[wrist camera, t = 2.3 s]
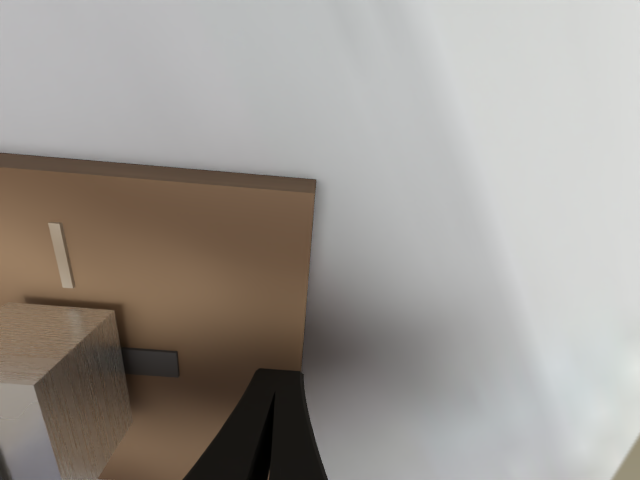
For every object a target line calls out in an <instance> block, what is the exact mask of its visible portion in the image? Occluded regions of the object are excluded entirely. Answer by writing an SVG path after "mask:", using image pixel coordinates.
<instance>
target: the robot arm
mask: <svg viewBox="0 0 640 480" xmlns="http://www.w3.org/2000/svg"><path fill="white" fill-rule="evenodd" d="M269 471H270V473H269ZM268 476H269V480H328V478H327V476H326V472H325V469H324V466H323V463H322V460H321V457H320V454H319V451H318V448H317V444H316V441H315V437H314V433H313V429H312V426H311V422H310V418H309V413H308V408H307V403H306V398H305V391H304V374H303V373H302V372H301V371H292V370H278V369H264V368H259V369H258V370H256V371H255V373H254V375H253V377H252V379H251V381H250V383H249V385H248V387H247V388H246V390H245V392H244V394H243V395H242V397H241V399H240V400H239V402H238V403H237V405H236V407H235V408H234V410H233V411H232V413H231V414H230V416H229V417H228V419H227V420H226V422H225V423H224V425H223V426H222V428H221V429H220V431H219V432H218V434H217V435H216V436H215V438H214V439H213V440H212V442H211V443H210V444H209V446H208V447H207V448H206V450H205V451H204V453H203V454H202V455H201V457H200V458H199V459H198V461H197V462H196V463H195V465H194V466H193V467H192V468H191V470H190V471H189V472H188V473H187V475H186V476H185V477H184V478H183V480H268Z"/></svg>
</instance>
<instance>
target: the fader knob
mask: <svg viewBox="0 0 640 480" xmlns="http://www.w3.org/2000/svg"><path fill="white" fill-rule="evenodd" d="M132 422H133V419H132V413H131V407H130V401H129V395H128V389H127V383H126V377H125V371H124V365H123V359H122V353H121V347H120V341H119V335H118V329H117V323H116V317H115V311H114V310H105V309H91V308H78V307H65V306H51V305H38V304H25V303H11V302H8V303H7V304H5V305H3V306H2V307H0V480H97V479H98V477H99V475H100V474H101V472H102V471H103V469H104V467H105V466H106V464H107V463H108V461H109V459H110V458H111V456H112V455H113V453H114V451H115V450H116V448H117V447H118V445H119V443H120V442H121V440H122V439H123V437H124V435H125V434H126V432H127V431H128V429H129V427H130V426H131V424H132Z"/></svg>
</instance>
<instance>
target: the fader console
mask: <svg viewBox="0 0 640 480" xmlns="http://www.w3.org/2000/svg"><path fill="white" fill-rule="evenodd" d="M315 188H316V180H314V179H303V178H291V177H279V176H267V175H255V174H244V173H232V172H220V171H208V170H196V169H184V168H173V167H161V166H149V165H137V164H125V163H113V162H102V161H90V160H78V159H66V158H54V157H43V156H31V155H19V154H7V153H0V307H2V306H3V305H5V304H7V303H8V302H11V303H25V304H38V305H51V306H65V307H78V308H91V309H105V310H114V311H115V317H116V323H117V329H118V335H119V341H120V347H121V353H122V359H123V365H124V371H125V377H126V383H127V389H128V395H129V401H130V407H131V413H132V419H133V422H132V424H131V426H130V427H129V429H128V431H127V432H126V434H125V435H124V437H123V439H122V440H121V442H120V443H119V445H118V447H117V448H116V450H115V451H114V453H113V455H112V456H111V458H110V459H109V461H108V463H107V464H106V466H105V467H104V469H103V471H102V472H101V474H100V475H99V477H98V479H102V480H183V478H184V477H185V476H186V475H187V473H188V472H189V471H190V470H191V468H192V467H193V466H194V465H195V463H196V462H197V461H198V459H199V458H200V457H201V455H202V454H203V453H204V451H205V450H206V448H207V447H208V446H209V444H210V443H211V442H212V440H213V439H214V438H215V436H216V435H217V434H218V432H219V431H220V429H221V428H222V426H223V425H224V423H225V422H226V420H227V419H228V417H229V416H230V414H231V413H232V411H233V410H234V408H235V407H236V405H237V403H238V402H239V400H240V399H241V397H242V395H243V394H244V392H245V390H246V388H247V387H248V385H249V383H250V381H251V379H252V377H253V375H254V373H255V371H256V370H258V369H259V368H264V369H278V370H292V371H301V366H302V353H303V340H304V328H305V315H306V302H307V289H308V277H309V264H310V251H311V239H312V226H313V213H314V200H315ZM269 473H270V471H269ZM268 480H269V476H268Z"/></svg>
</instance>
